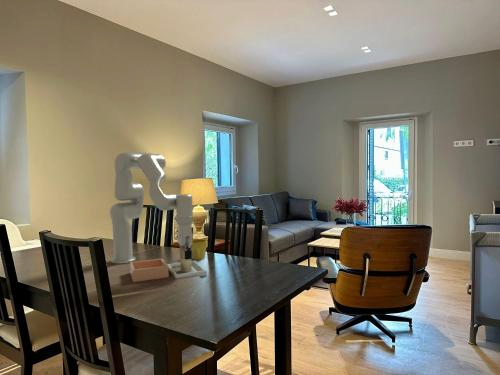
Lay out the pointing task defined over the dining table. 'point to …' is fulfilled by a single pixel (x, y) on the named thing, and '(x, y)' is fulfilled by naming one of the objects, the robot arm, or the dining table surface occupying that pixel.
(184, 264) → the maple peg
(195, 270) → the grey tray
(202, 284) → the dining table surface
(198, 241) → the plant pot
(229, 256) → the dining table surface
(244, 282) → the dining table surface
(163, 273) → the peach square hollow box
